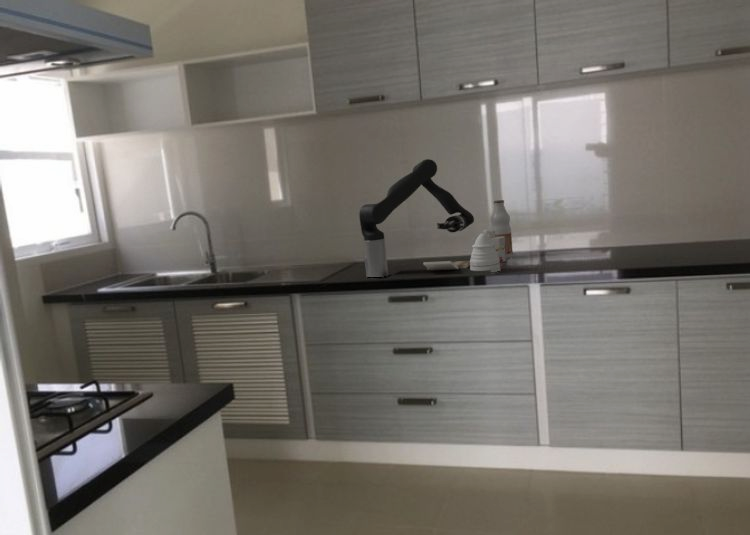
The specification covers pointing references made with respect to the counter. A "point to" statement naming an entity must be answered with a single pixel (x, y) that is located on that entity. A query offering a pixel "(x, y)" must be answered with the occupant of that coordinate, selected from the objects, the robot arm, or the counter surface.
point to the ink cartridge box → (498, 245)
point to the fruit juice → (502, 226)
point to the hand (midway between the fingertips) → (445, 227)
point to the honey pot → (484, 254)
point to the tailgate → (441, 265)
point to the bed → (459, 264)
